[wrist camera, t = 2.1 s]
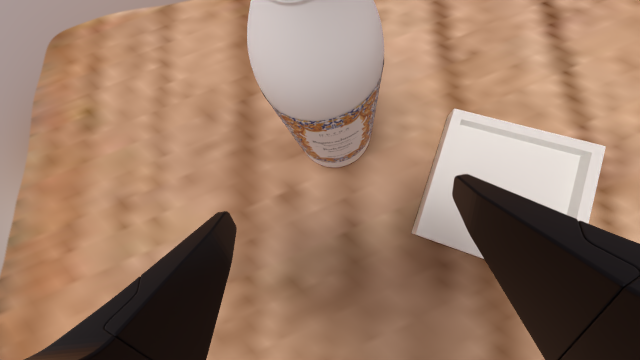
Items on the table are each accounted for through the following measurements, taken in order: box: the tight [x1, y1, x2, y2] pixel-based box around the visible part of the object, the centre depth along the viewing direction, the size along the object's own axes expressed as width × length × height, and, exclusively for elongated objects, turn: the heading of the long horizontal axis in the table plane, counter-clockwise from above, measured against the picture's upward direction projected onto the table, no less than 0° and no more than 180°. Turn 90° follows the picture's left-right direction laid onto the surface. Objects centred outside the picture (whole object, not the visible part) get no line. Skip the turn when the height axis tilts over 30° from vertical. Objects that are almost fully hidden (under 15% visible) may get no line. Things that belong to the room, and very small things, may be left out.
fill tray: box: [412, 109, 606, 259], centre depth 20 cm, size 12×12×2 cm
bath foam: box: [247, 0, 384, 167], centre depth 15 cm, size 7×7×20 cm
